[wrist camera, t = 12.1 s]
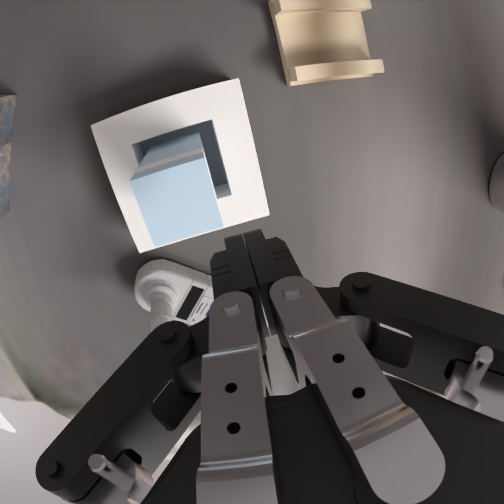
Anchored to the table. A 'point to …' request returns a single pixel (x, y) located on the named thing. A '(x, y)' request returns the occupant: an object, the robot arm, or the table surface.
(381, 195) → the table surface
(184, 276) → the electronic device
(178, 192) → the plug
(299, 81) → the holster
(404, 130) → the table surface
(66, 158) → the table surface
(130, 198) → the socket
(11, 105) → the marbled rust block
